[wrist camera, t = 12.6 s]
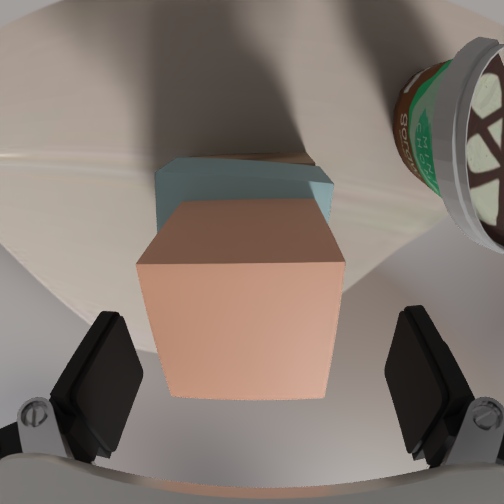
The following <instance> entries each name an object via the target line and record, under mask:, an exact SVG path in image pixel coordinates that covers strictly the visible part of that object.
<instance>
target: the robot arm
mask: <svg viewBox="0 0 504 504" xmlns="http://www.w3.org/2000/svg"><path fill="white" fill-rule="evenodd" d="M142 378H143V369H142V366H141V364H140V361H139V358H138V356H137V353H136V351H135V348H134V345H133V342H132V340H131V337H130V334H129V331H128V329H127V326H126V323H125V320H124V318H123V317H122V316H120V315H119V313H118V312H112V311H102V312H101V313H100V314H99V316H98V317H97V319H96V320H95V322H94V323H93V325H92V326H91V328H90V329H89V331H88V332H87V334H86V336H85V337H84V339H83V340H82V342H81V343H80V345H79V347H78V348H77V350H76V351H75V353H74V355H73V356H72V358H71V359H70V361H69V363H68V364H67V366H66V368H65V369H64V371H63V373H62V374H61V376H60V378H59V379H58V381H57V383H56V385H55V386H54V388H53V390H52V392H51V393H50V395H51V398H50V399H49V401H48V400H47V399H45V398H42V397H35V398H31V399H30V400H28V401H26V402H25V403H24V404H23V405H22V406H21V408H20V409H19V411H18V414H17V422H14V423H12V424H10V425H8V426H5V427H3V428H1V429H0V504H504V407H503V406H502V405H501V404H500V403H499V402H498V401H497V400H495V399H493V398H490V397H480V398H477V399H475V398H474V396H473V393H472V391H471V390H470V388H469V385H468V383H467V381H466V379H465V377H464V375H463V374H462V371H461V370H460V368H459V366H458V364H457V362H456V360H455V358H454V356H453V355H452V353H451V351H450V349H449V347H448V345H447V344H446V343H445V342H444V341H443V340H442V338H441V336H440V334H439V332H438V331H437V329H436V327H435V326H434V324H433V322H432V320H431V319H430V317H429V315H428V314H427V312H426V310H425V308H424V307H423V306H422V305H416V306H407V307H405V309H404V311H401V312H400V313H399V317H398V321H397V325H396V329H395V333H394V337H393V340H392V344H391V347H390V351H389V354H388V358H387V361H386V365H385V378H386V381H387V384H388V387H389V390H390V393H391V397H392V400H393V403H394V407H395V410H396V414H397V417H398V420H399V424H400V428H401V431H402V435H403V439H404V442H405V446H406V450H407V452H408V453H412V456H413V459H414V461H415V460H419V459H423V458H425V459H426V462H427V464H428V466H427V468H426V469H425V470H421V471H417V472H412V473H407V474H403V475H397V476H392V477H386V478H380V479H373V480H367V481H360V482H353V483H345V484H335V485H324V486H311V487H292V488H291V487H289V488H246V487H226V486H212V485H201V484H192V483H183V482H175V481H169V480H162V479H156V478H151V477H145V476H140V475H135V474H130V473H125V472H121V471H116V470H112V469H108V468H103V467H99V466H96V463H95V461H94V460H95V457H96V455H97V456H102V457H105V458H110V456H111V453H112V452H114V451H115V450H116V449H117V446H118V444H119V441H120V438H121V435H122V432H123V429H124V427H125V424H126V421H127V418H128V416H129V413H130V410H131V408H132V405H133V402H134V400H135V397H136V394H137V392H138V389H139V386H140V384H141V381H142Z"/></svg>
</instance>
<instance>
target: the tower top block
mask: <svg viewBox="0 0 504 504" xmlns="http://www.w3.org/2000/svg"><path fill="white" fill-rule="evenodd" d="M333 188H334V183H333V182H332V181H331V180H330V178H329V177H328V176H327V175H326V174H325V172H324V171H323V170H322V169H321V168H320V167H319V166H311V165H302V164H291V163H280V162H267V161H254V160H238V159H218V158H190V157H177V158H175V159H174V160H172V161H171V162H169V163H168V164H166V165H165V166H163V167H162V168H161V169H159V170H158V171H156V172H155V191H156V217H157V234H158V232H159V231H160V230H161V228H162V227H163V225H164V224H165V223H166V221H167V220H168V219H169V217H170V216H171V215H172V213H173V212H174V211H175V209H176V208H177V207H178V206H179V204H180V203H181V202H182V201H206V200H236V199H315V200H316V202H317V204H318V206H319V208H320V210H321V212H322V214H323V216H324V218H325V220H326V222H327V224H328V221H329V215H330V208H331V202H332V195H333Z"/></svg>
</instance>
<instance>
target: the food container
mask: <svg viewBox="0 0 504 504" xmlns="http://www.w3.org/2000/svg"><path fill="white" fill-rule="evenodd" d="M503 49H504V44H499V42H498V40H495V39H489V38H483V37H478V38H476V39H474V40H472V41H471V42H469V43H467V44H466V45H465V46H464V47H463V48H462V49H461V50H460V51H459V52H458V53H457V54H456V56H455V57H454V59H451V60H448V61H445V62H443V63H440V64H437V65H434V66H431V67H428V68H426V69H423V70H422V71H420V72H418V73H417V74H415V75H414V76H412V78H411V79H410V80H409V81H408V83H407V84H406V85H405V86H404V87H403V89H402V90H401V92H400V95H399V97H398V100H397V103H396V106H395V108H394V121H393V133H394V138H395V143H396V147H397V149H398V152H399V155H400V157H401V158H402V160H403V162H404V164H405V165H406V166H407V168H408V169H409V170H410V171H411V172H412V173H413V174H414V175H415V176H416V177H417V178H418V179H420V180H421V181H422V182H423V183H425V184H426V185H427V186H428V187H429V188H431V189H432V190H433V191H434V192H435V193H436V194H438V195H439V196H440V197H441V198H442V199H443V201H444V204H445V206H446V208H447V211H448V212H449V214H450V216H451V217H452V219H453V220H454V222H455V224H456V225H457V226H458V227H459V228H460V229H461V231H462V232H463V233H464V234H465V235H466V236H468V237H469V238H470V239H471V240H473V241H474V242H476V243H478V244H480V245H482V246H485V247H487V248H489V249H491V250H494V251H496V252H498V253H501V254H504V66H503V63H502V61H501V58H500V56H499V53H498V52H499V51H501V50H503Z"/></svg>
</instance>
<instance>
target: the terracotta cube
mask: <svg viewBox="0 0 504 504" xmlns="http://www.w3.org/2000/svg"><path fill="white" fill-rule="evenodd" d="M345 263H346V262H345V259H344V257H343V255H342V253H341V251H340V249H339V247H338V244H337V242H336V240H335V238H334V236H333V234H332V232H331V230H330V228H329V226H328V224H327V222H326V220H325V218H324V216H323V214H322V212H321V210H320V208H319V206H318V204H317V202H316V200H315V199H236V200H206V201H182V202H181V203H180V204H179V206H178V207H177V208H176V209H175V211H174V212H173V213H172V215H171V216H170V217H169V219H168V220H167V221H166V223H165V224H164V225H163V227H162V228H161V230H160V231H159V232H158V234H157V235H156V236H155V238H154V239H153V241H152V242H151V243H150V245H149V246H148V247H147V249H146V250H145V252H144V253H143V255H142V256H141V257H140V259H139V260H138V262H137V263H136V268H137V273H138V277H139V282H140V286H141V290H142V295H143V299H144V303H145V307H146V311H147V315H148V318H149V322H150V326H151V330H152V333H153V337H154V341H155V344H156V348H157V351H158V355H159V358H160V361H161V365H162V368H163V371H164V374H165V377H166V380H167V384H168V387H169V390H170V393H171V396H175V397H188V398H204V399H226V400H287V399H310V398H311V399H312V398H324V396H325V391H326V386H327V381H328V375H329V370H330V364H331V359H332V354H333V347H334V341H335V336H336V329H337V322H338V316H339V309H340V302H341V295H342V287H343V280H344V271H345Z"/></svg>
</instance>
